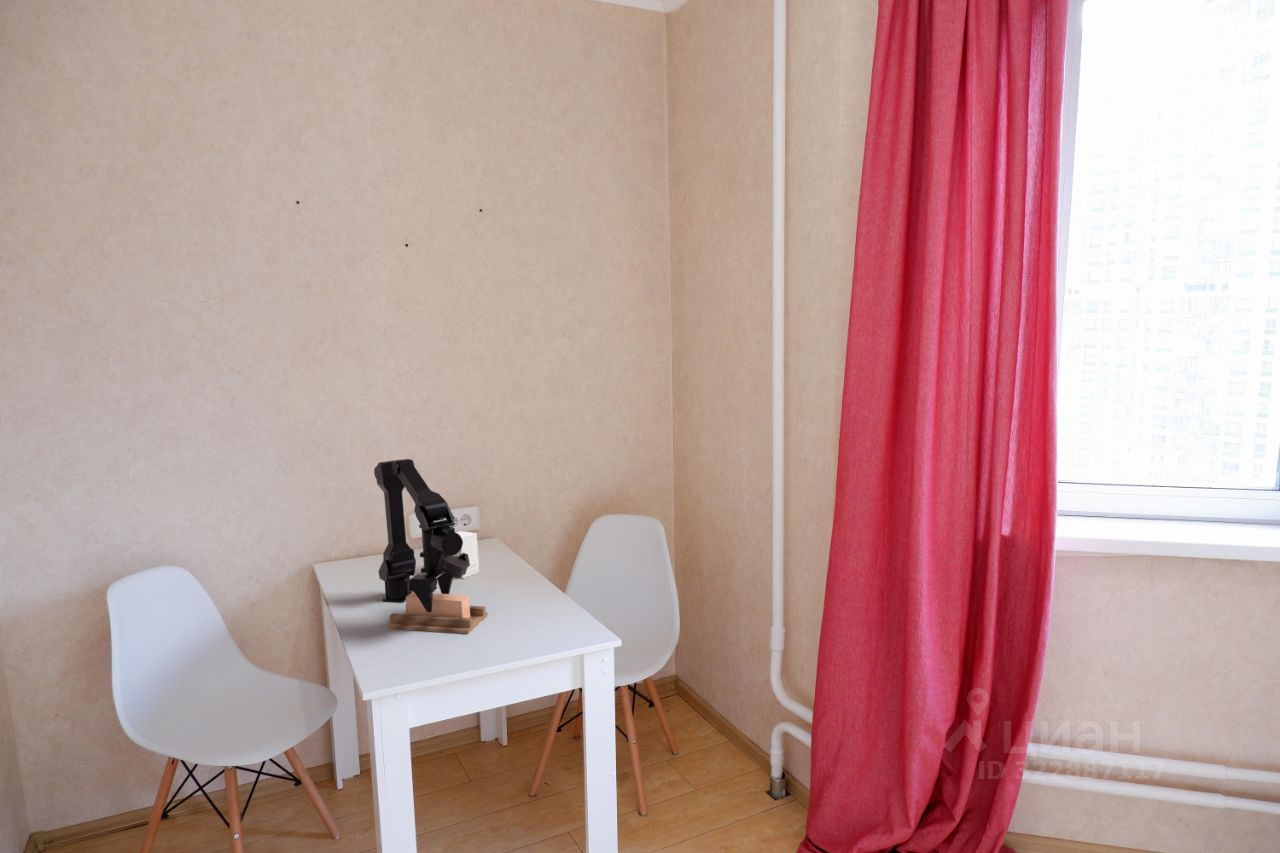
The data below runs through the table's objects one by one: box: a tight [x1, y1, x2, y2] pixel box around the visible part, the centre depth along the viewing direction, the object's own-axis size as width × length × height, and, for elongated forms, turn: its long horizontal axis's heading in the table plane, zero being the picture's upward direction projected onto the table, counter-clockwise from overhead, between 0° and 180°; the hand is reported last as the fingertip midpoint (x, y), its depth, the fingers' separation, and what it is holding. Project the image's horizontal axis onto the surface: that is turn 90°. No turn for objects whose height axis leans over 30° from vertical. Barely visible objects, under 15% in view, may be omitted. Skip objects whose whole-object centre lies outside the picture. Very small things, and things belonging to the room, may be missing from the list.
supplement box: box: [452, 530, 480, 579], centre depth 234 cm, size 7×7×13 cm
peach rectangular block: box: [405, 592, 471, 618], centre depth 195 cm, size 16×4×6 cm, turn 75°
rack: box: [387, 605, 489, 635], centre depth 196 cm, size 22×12×3 cm, turn 78°
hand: (437, 605), depth 195 cm, fingers open, 9 cm apart
